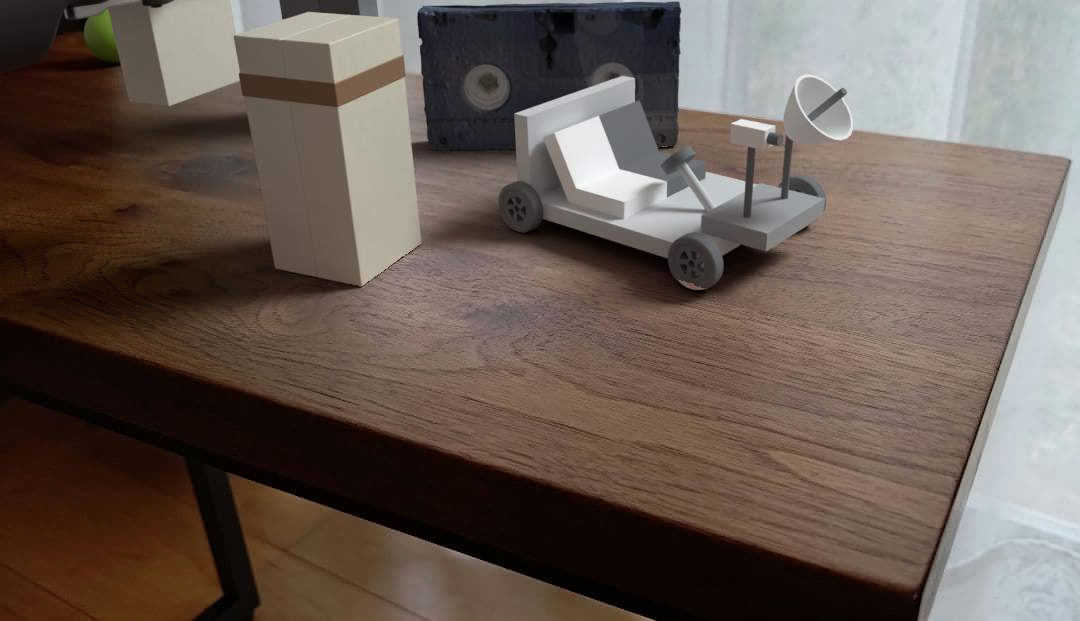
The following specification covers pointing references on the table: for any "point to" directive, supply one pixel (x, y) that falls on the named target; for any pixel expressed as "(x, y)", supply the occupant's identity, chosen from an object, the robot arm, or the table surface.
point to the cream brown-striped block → (331, 143)
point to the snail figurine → (101, 37)
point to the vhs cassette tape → (542, 64)
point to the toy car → (664, 177)
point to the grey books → (328, 7)
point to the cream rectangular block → (175, 49)
